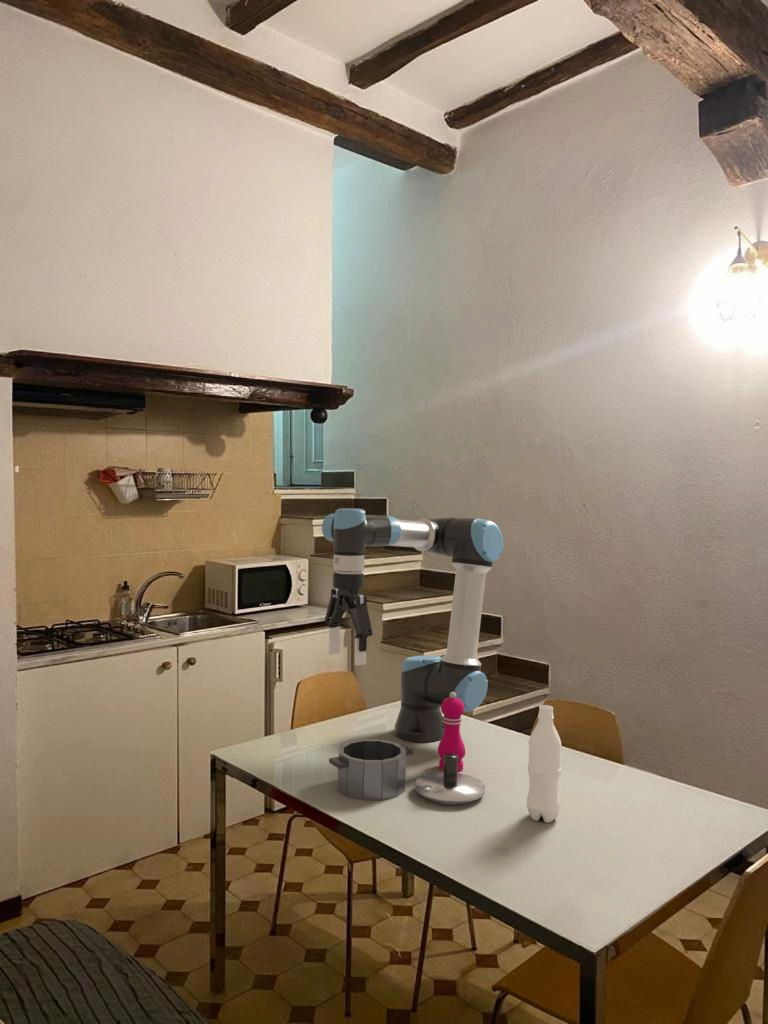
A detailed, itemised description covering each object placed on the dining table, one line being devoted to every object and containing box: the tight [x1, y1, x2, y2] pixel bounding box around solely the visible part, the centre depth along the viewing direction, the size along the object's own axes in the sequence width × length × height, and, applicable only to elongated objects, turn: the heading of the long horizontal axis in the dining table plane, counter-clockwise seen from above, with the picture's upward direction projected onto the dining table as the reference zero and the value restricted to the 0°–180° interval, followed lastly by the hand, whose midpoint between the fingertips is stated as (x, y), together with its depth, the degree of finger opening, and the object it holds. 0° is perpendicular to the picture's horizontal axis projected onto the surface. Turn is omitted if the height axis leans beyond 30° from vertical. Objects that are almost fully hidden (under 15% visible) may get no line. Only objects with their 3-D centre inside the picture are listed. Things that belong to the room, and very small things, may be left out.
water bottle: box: [526, 704, 562, 824], centre depth 176 cm, size 7×7×25 cm
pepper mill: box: [437, 692, 466, 772], centre depth 206 cm, size 7×7×20 cm
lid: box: [414, 753, 486, 806], centre depth 189 cm, size 17×17×10 cm
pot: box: [328, 739, 415, 801], centre depth 192 cm, size 21×16×9 cm
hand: (346, 658), depth 193 cm, fingers open, 13 cm apart
